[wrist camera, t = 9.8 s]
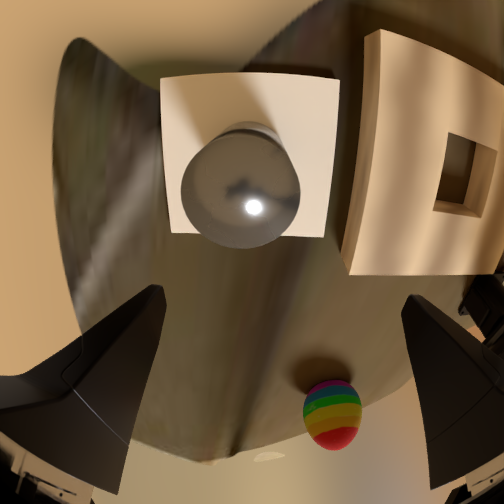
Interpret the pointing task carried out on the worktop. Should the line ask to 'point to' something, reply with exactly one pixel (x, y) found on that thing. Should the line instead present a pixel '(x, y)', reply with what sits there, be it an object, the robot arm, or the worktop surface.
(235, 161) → the metal part
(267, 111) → the ceramic tile
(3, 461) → the robot arm
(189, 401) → the worktop surface
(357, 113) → the worktop surface
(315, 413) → the decorative egg
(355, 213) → the pocket block
